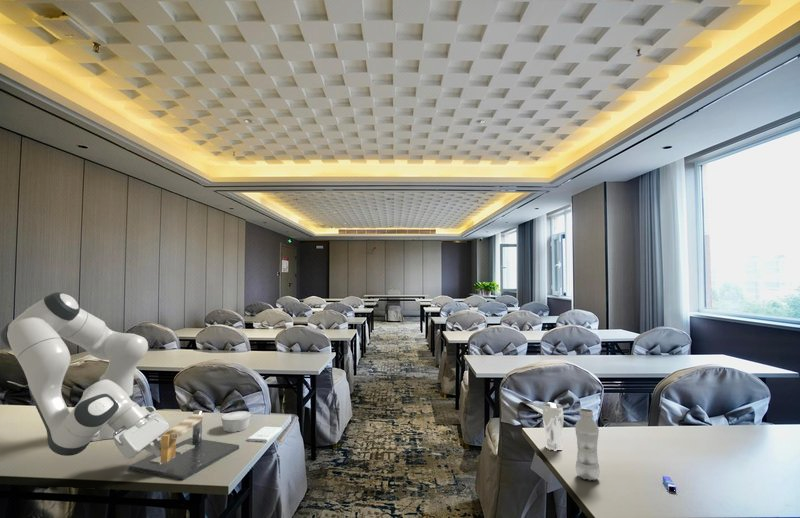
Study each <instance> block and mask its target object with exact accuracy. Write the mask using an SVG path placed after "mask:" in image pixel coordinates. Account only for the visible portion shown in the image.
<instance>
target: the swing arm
mask: <svg viewBox="0 0 800 518" xmlns="http://www.w3.org/2000/svg"><path fill="white" fill-rule="evenodd" d="M204 417H205V414H204V413H202V414H193V413H192V414H190V415H189V416H188V417H186V418H185V419H183V420H182V421H181V422H180V423H178V424H176V425H175V426H174V427H172V428H170V429H169V430H168V431H167V432H166V433H164V434H163V435H162V436H161V437H160V439H161V463H166V462H168V461H170V460H171V459H172V458H173V457H174V456H175V455H176V444H177V440H178V439H179V438H180V437H181V436H183V435H184V434H185V433H187V432H188V431H189V430H191V429H193V426H194V425H196V424H197V423H198V422H200V421H201V420H202V421H203V420H204Z"/></svg>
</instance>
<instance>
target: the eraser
mask: <svg viewBox="0 0 800 518" xmlns="http://www.w3.org/2000/svg"><path fill="white" fill-rule="evenodd" d="M662 482H664V483H665V484H664V483H663V484H664V486H665V485H666V486H665V488H666V487H667V488H668V490H669V491H670V487H671V488H672V487H673V488H672V490H673V489H674V490H675V491H674V490H673V491H674V492H676V493H677V486H676V485H675V483H674V482H673V480H672V478H671V477H670V476H667V475H666V476H665V475H664V476H662ZM667 488H666V489H667ZM668 490H667V491H668Z"/></svg>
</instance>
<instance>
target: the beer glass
mask: <svg viewBox="0 0 800 518" xmlns="http://www.w3.org/2000/svg"><path fill="white" fill-rule="evenodd" d="M542 422H543V428H544V434H545V441H544V448H545V447H546V448H548V449H550V450H561V449H564V447H563V442H562V435H563V428H564V407H563V405H562V404H560V403H557V402H544V403H543V404H542ZM546 448H545V449H546ZM548 449H547V450H548ZM550 450H549V451H550Z"/></svg>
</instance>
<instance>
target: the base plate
mask: <svg viewBox="0 0 800 518" xmlns="http://www.w3.org/2000/svg"><path fill="white" fill-rule="evenodd" d="M192 414H203V410H202V409H196V410H193V411H192ZM202 435H203V419H202V420H201V421H200V422H198V423H197V424H196V425H194V426H193V427H192V437H189V438H186V439H183V440H182V441H180V442H178V443H176V455H175V456H174V457H173V458H172V459H171V460H170V461H168V462H166V463H161V455H160V456H158V457H157V456H156V455H155V454H154V453H153V454H152V455H149V456H147V457H145V458H143V459H141V460H139V461H136V462H134V463H132V464H129V466H128V470H131V471H135V472H140V473H146V474H149V473H151V474H150V475H154V476H160V477H166V478H171V479H175V480H180V481H185V480H186V479H188V478H190V477H191V476H193V475H195V474H197V473H198V472H200V471H202V470H203V469H205V468H207V467H210V466H211V465H213V464H215V463H217V462H218V461H220V460H221V459H223V458H225V457H227V456H229V455H230V454H232V453H234V452H236V451H237V450H239V449H240V444H234V443H227V442H223V441H221V442H220V441H215V440H209V439H202V437H203V436H202Z"/></svg>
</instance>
